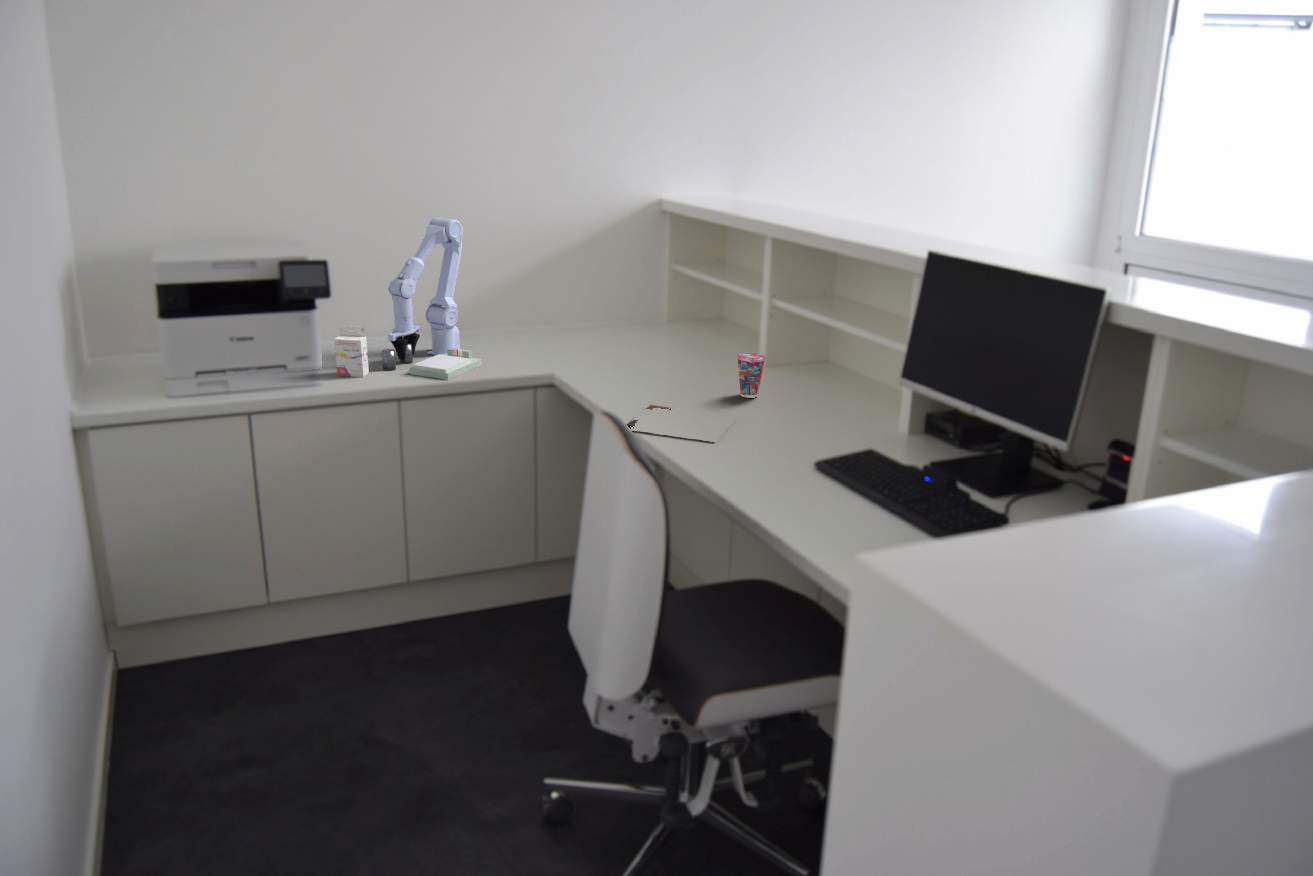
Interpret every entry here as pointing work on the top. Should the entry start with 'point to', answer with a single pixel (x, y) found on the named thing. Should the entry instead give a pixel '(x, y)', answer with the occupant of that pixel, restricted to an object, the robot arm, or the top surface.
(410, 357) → the cylinder
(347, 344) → the ink cartridge box
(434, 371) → the scale
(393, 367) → the cylinder
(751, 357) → the cup
